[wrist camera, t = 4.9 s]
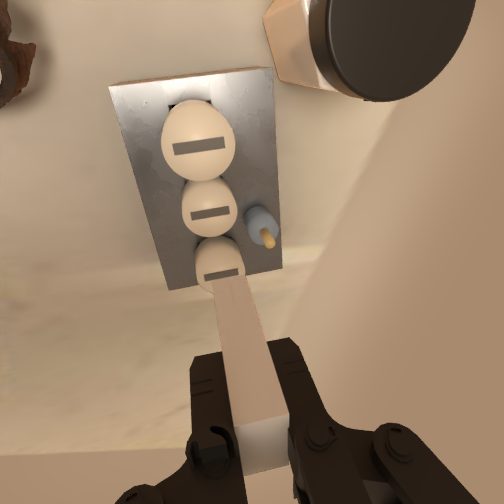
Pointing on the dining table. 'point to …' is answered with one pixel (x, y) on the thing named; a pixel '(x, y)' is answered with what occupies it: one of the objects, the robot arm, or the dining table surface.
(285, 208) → the dining table surface
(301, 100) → the dining table surface
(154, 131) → the panel
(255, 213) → the potentiometer
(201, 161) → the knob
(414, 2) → the jar
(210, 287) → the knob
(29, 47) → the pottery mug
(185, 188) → the knob middle
